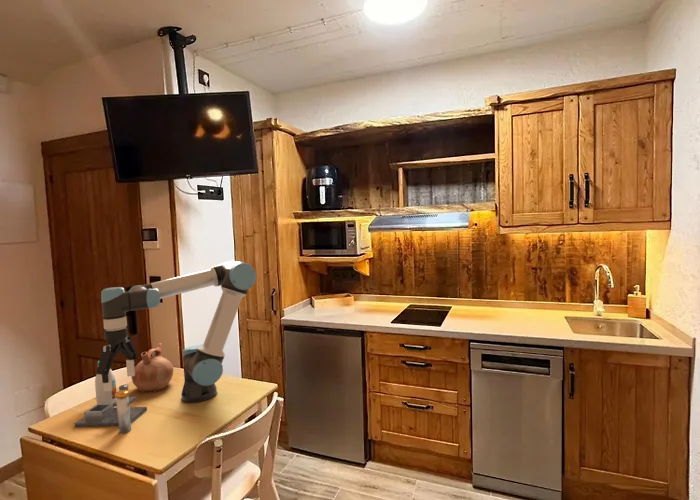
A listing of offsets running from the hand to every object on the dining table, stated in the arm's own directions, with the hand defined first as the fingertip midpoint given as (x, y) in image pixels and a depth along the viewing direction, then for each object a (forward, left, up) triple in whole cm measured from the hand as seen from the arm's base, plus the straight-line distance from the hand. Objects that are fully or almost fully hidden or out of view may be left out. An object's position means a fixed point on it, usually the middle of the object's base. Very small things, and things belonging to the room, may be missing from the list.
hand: (120, 383), depth 148 cm
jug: (+10, -40, -19) cm, 45 cm away
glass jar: (-1, 0, -19) cm, 19 cm away
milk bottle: (+22, -23, -19) cm, 37 cm away
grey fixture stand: (+11, -10, -19) cm, 24 cm away
